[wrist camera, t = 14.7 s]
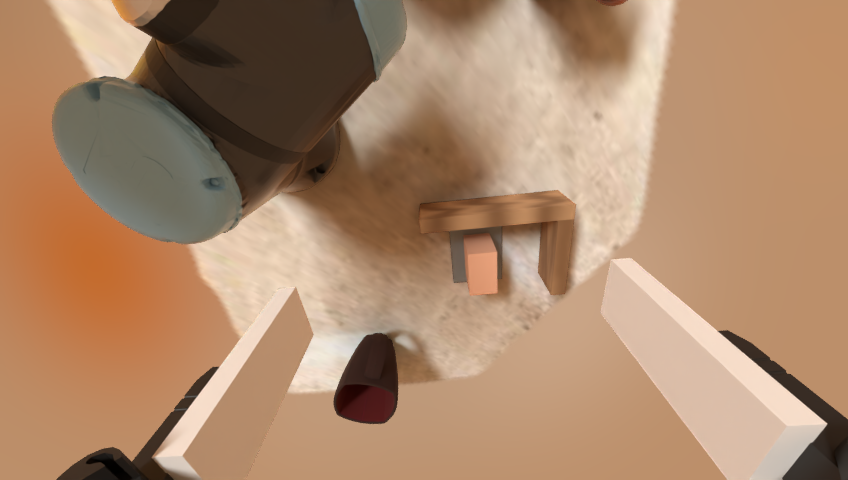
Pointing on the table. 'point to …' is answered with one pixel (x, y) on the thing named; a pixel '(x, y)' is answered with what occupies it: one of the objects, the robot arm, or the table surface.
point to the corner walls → (514, 211)
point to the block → (480, 264)
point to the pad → (458, 250)
